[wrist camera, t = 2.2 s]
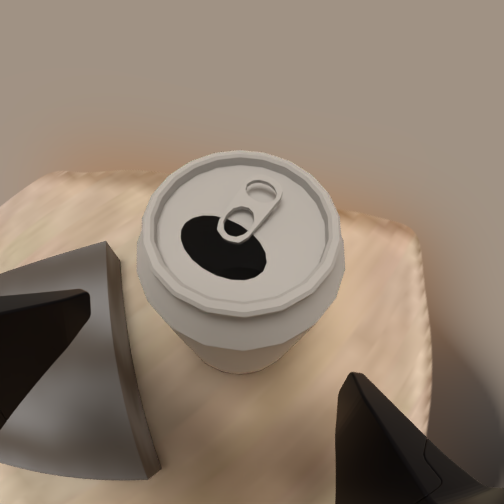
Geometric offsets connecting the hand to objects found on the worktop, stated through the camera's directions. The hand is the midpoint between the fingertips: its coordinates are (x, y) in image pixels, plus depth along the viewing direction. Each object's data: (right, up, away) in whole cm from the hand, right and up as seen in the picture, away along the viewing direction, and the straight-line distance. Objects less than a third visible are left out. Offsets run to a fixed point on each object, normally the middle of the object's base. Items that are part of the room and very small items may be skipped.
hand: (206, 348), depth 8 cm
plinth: (-15, -6, +7) cm, 17 cm away
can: (0, -2, +11) cm, 11 cm away
